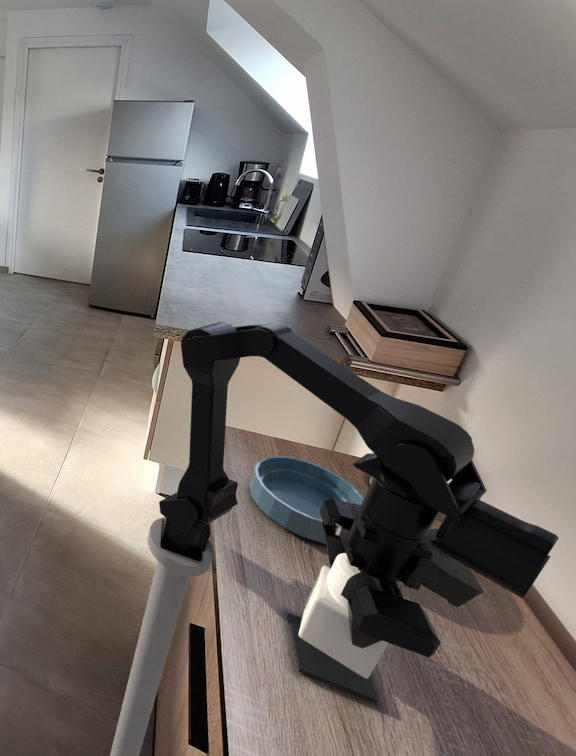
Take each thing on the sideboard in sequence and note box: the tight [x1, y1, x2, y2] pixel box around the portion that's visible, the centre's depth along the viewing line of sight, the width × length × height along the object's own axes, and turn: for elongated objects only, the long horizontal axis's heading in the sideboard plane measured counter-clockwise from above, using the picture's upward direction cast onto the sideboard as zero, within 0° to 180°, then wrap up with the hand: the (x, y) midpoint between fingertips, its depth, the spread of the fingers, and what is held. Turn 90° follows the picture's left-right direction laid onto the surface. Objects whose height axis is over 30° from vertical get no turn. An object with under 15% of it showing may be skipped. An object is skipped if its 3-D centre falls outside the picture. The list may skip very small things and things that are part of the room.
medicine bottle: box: [299, 553, 389, 679], centre depth 56 cm, size 7×7×12 cm
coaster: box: [287, 612, 379, 704], centre depth 59 cm, size 8×8×1 cm
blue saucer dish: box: [248, 455, 365, 545], centre depth 83 cm, size 17×17×5 cm
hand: (346, 613), depth 57 cm, fingers closed on medicine bottle, 8 cm apart
